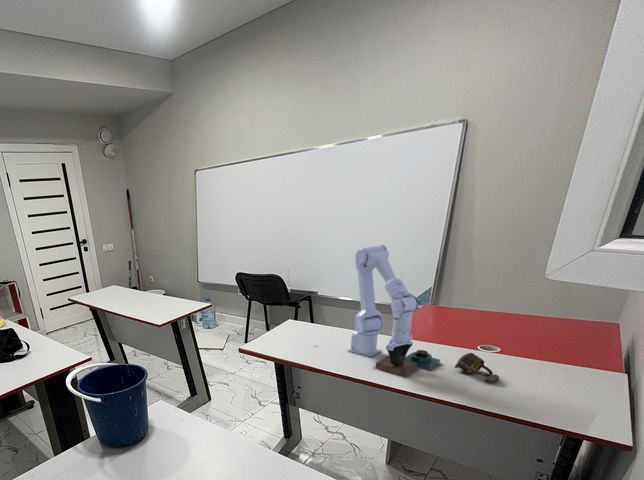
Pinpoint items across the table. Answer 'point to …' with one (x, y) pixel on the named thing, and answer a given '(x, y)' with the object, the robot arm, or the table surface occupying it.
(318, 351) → the table surface
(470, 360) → the mechanical counter
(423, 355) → the button
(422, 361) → the button box
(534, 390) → the table surface
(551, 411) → the table surface
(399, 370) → the dial panel
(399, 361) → the dial knob
